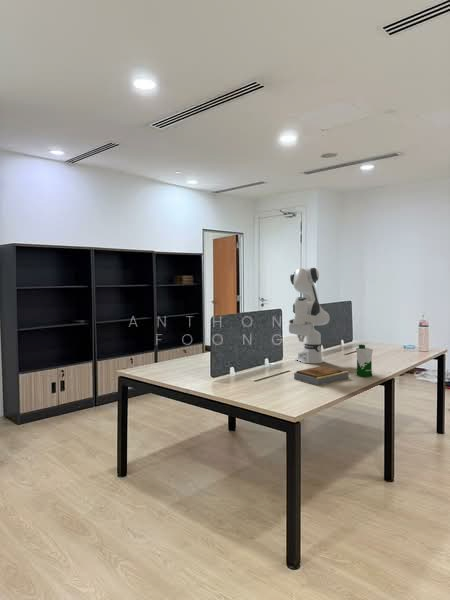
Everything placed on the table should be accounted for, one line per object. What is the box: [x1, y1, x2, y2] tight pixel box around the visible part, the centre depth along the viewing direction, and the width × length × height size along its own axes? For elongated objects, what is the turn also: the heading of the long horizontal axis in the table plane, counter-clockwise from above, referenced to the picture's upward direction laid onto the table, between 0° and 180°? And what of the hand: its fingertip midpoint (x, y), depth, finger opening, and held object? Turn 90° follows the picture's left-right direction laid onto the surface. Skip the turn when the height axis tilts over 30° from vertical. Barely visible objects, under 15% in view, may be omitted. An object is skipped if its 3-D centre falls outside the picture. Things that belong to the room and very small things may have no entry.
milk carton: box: [355, 344, 374, 378], centre depth 274 cm, size 9×9×20 cm
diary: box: [295, 365, 344, 378], centre depth 269 cm, size 23×19×6 cm
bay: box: [293, 370, 350, 386], centre depth 268 cm, size 20×28×5 cm
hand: (301, 341), depth 284 cm, fingers closed
